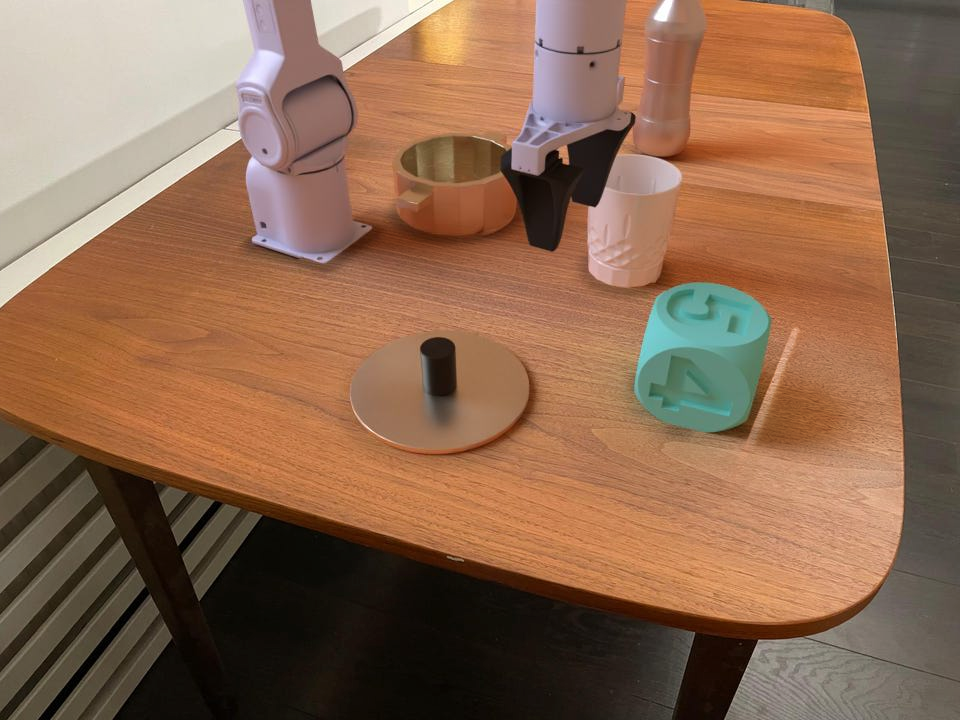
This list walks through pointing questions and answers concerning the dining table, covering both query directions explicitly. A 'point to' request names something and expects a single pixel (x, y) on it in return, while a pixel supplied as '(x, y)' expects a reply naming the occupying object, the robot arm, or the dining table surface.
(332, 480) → the dining table surface
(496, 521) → the dining table surface
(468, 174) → the pot
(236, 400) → the dining table surface
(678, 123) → the plastic bottle
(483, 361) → the lid
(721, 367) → the decorative dice
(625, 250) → the white cup
